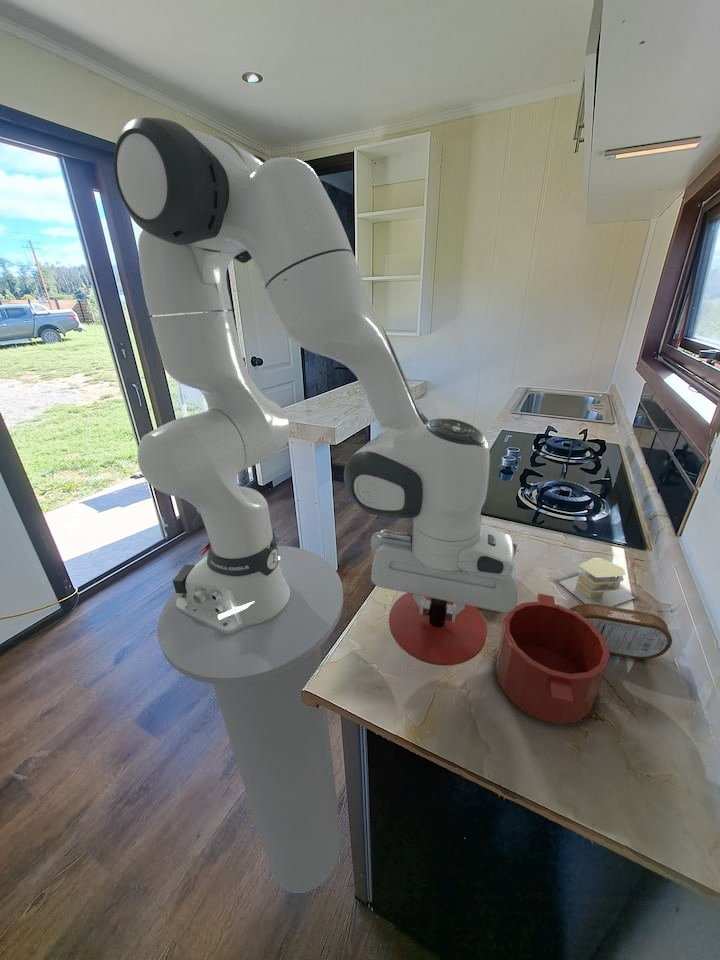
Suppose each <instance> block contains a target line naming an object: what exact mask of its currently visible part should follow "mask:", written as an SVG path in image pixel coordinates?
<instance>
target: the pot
mask: <svg viewBox="0 0 720 960" xmlns="http://www.w3.org/2000/svg"><path fill="white" fill-rule="evenodd" d="M536 599H537V601H528V602H521V603H520V604H518V605H516V607H515V609H514V610H513V611H511V612H509V613H506V615H505V617H504V619H503V623H502V628H501V634H500V640H499V646H498V650H497V657H496V668H495V670H496V676H497V680H498V683H499V685H500V687H501V689H502V691H503V692H504V694H505V695H506V696H507V697H508V699H509V700H510V701H511V702H512V703H513V704H515V706H516V707H517V708H518V709H520V710H522V711H523V712H525V714H528V715H529V716H531V717H533V718H535V719H538V720H540V721H543V722H547V723H550V724H556V725H568V724H574V723H576V722H579V721H581V720H583V719H584V718H585V717H586V716H587V715H588V714H589V713H590V712H591V711H592V708H593V705H594V702H595V699H596V697H597V694H598V692H599V689H600V686H601V683H602V681H603V678H604V675H605V673H606V670H607V668H608V667H607V666H608V664H609V660H610V657H611V653H609V650H608V647H607V644H606V641H605V638H604V637H603V636H602V635H601V633H600V632H599V631H598V630H597V629H596V627H595V626H594V625H593V624H592V623H590V622H589V621H587V620H586V619H585V618H583V617H582V616H581V615H579V614H578V613H576V612H574V611H572V610H569V609H570V608H567V607H564V606H562V605H560V604H557V603H556V601H555V596H554V595H550V594H543V593H538V594H537V596H536Z"/></svg>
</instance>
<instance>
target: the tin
mask: <svg viewBox="0 0 720 960" xmlns="http://www.w3.org/2000/svg"><path fill="white" fill-rule="evenodd" d="M568 609H569V610H572V611H574V612H576V613H578V614H579V615H581V616H582V617H583V618H585V619H586V620H587V621H589V622H590V623H592V624H593V625H594V626H595V627H596V629H597V630H598V631H599V632H600V633H601V635H602V636H603V637H604V638H605V641H606V644H607V647H608V650H609V654H610V655H616V656H622V657H626V658H632V659H637V660H651V659H655V658H658V657H660V656H663V655H664V654H666V653H667V651H669V649H670V648H671V647H672V644H673V637H672V635H671V632H670V631H669V627H668V624H667V623H666V622H665V620H664V619H663V618H661V617H659V616H658V615H656V614H653V613H650V612H646V611H641V610H636V609H635V610H634V609H628V608H623V607H617V606H612V607H611V606H606V605H600V604H594V603H580V604H576V605H574V606H573V605H572V606H571V607H569V608H568Z"/></svg>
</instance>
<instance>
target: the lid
mask: <svg viewBox="0 0 720 960" xmlns="http://www.w3.org/2000/svg"><path fill="white" fill-rule="evenodd" d="M425 598H426V600H430V601H431V603H430V615H429V616H424V615H420V614H419V613H420V607H419V606H418V604H417V603H416V601H415V600H414V598H413V594H411V593H406V592H405V593H404V594H403V595H401V596H400V597H399V598H398V599H396V600H395V601H394V603H393V605H392V606H391V608H390V611H389V615H388V627H389V632H390V634H391V636H392V638H393V639H394V641H395V643H396V644H397V645H398V646H399V647H400V648H401V649H402V651H404V652H405V653H406V654H408V655H409V656H411V657H413V658H414V659H416V660H418V661H420V662H422V663H426V664H429V665H434V666H442V667H443V666H444V667H446V666H456V665H460V664H464V663H466V662H469V661H471V660H472V659H474V658H476V656H477V655H479V654H480V653H481V651H482V650H483V648H484V647H485V645H486V642H487V636H488V627H487V622H486V620H485V618H484V616H483V614H482V612H481V611H480V610H479V607H474V606H470V605H465V609H463V610H462V611H461V612H460V613H458V614H457V615H456V618H455V622H452V621H447V620H445V615H446V609H447V604H449V605H453V604H454V603H455V602H450V601H445V600H440V599H436V598H431V597H426V596H425Z"/></svg>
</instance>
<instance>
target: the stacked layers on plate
mask: <svg viewBox="0 0 720 960" xmlns="http://www.w3.org/2000/svg"><path fill="white" fill-rule="evenodd" d="M578 566H579V567H580V568H579V569H578V570H577V573H579V574H578V575H576V576H572V577H570V578H566V579H563V580H560V581H558V583H559V584H560V585H561V586H563V587H564V588H565V589H566V590H567V591H569V592H570V593H571V594H572V595H574V596H575V597H576V598H577V599H579V600H580V601H581V602H582V603H583V604H585V603H594V604H600V605H606V606H611V607H616V606H617V605H621V604H623V603H626V602H629V601H631V600H634V599H636V597H635V596H633V595H632V594H630V593H629V592H627V591H626V590H625V589H623V588H622V587H621V584H620V583H622V582H623V581H625V580H624V575H626V571H625V569H624V568H623V567H621V566H620V565H617V564H615V563H614V562H611V561H608V560H607V559H605V558H603V557H592V558H590V559H589V560H586V561H584V562H582V563H580V564H579V565H578Z"/></svg>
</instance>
